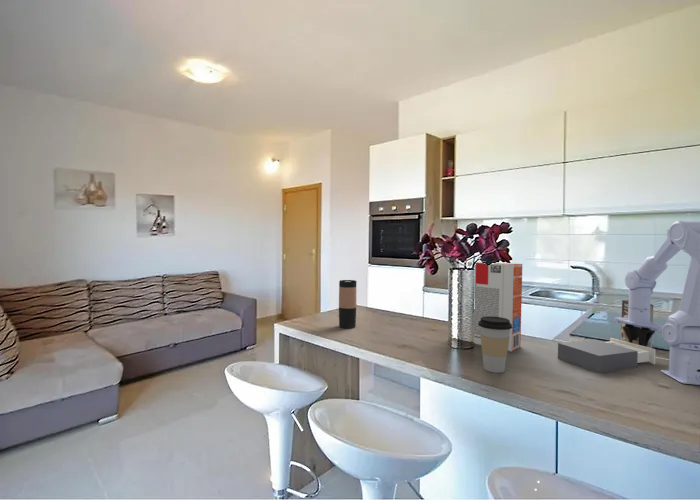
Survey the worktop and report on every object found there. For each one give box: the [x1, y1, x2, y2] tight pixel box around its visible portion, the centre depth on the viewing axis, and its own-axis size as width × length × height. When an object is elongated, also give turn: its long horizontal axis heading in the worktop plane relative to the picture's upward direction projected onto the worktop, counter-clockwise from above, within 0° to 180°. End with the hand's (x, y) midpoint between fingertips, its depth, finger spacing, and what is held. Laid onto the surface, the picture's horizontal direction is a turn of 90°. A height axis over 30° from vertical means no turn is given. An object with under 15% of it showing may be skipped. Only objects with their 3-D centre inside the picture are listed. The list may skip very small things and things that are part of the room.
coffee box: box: [620, 299, 654, 348], centre depth 137 cm, size 9×6×16 cm
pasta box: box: [468, 260, 523, 352], centre depth 138 cm, size 23×8×30 cm, turn 46°
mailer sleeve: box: [557, 338, 638, 374], centre depth 117 cm, size 16×14×5 cm
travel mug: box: [338, 279, 358, 330], centre depth 161 cm, size 8×8×20 cm
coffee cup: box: [478, 316, 512, 374], centre depth 109 cm, size 9×9×15 cm
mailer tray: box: [605, 337, 656, 365], centre depth 120 cm, size 20×14×5 cm
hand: (637, 349), depth 123 cm, fingers closed on mailer tray, 2 cm apart
